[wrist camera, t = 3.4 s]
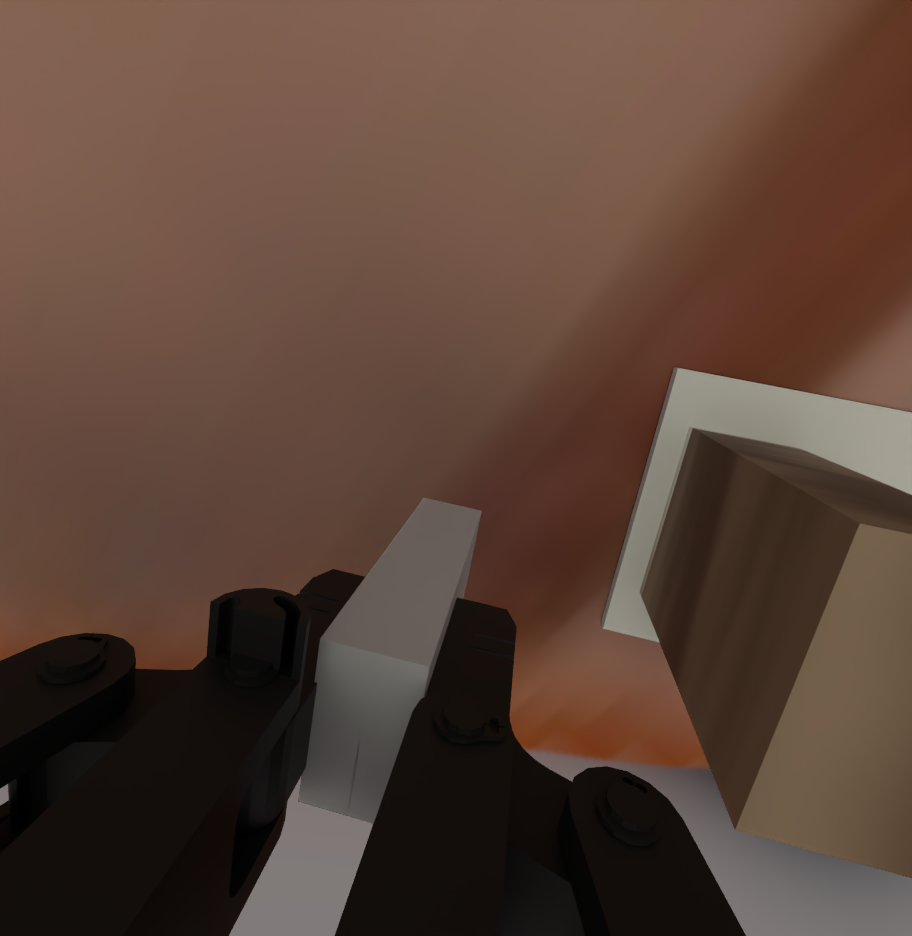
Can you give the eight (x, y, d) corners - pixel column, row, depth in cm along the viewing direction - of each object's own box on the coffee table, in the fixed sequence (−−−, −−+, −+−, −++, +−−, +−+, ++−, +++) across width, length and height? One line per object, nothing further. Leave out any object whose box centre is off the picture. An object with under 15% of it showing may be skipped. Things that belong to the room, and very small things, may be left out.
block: (639, 592, 22) (735, 830, 11) (689, 426, 20) (860, 523, 9) (739, 615, 21) (936, 885, 11) (800, 448, 20) (1107, 575, 9)
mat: (601, 621, 23) (606, 644, 21) (674, 367, 20) (686, 369, 18) (1052, 730, 21) (1098, 764, 19) (1202, 468, 18) (1270, 481, 17)
